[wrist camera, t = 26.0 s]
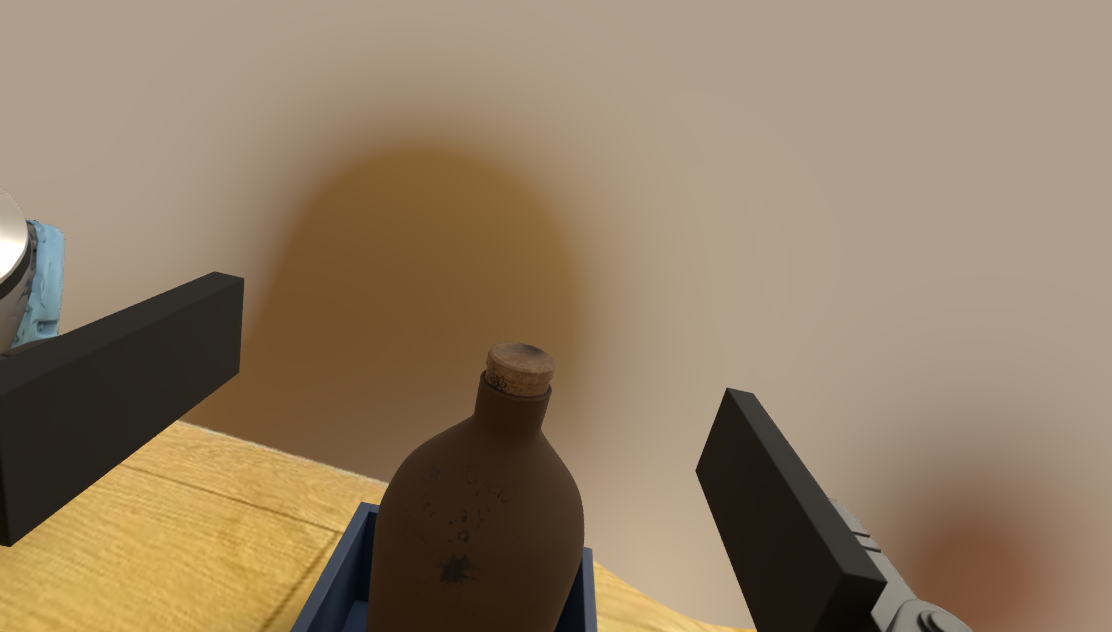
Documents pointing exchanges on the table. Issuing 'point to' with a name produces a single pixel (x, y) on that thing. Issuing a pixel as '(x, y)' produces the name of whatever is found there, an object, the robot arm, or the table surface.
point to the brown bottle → (481, 516)
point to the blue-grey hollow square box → (343, 588)
